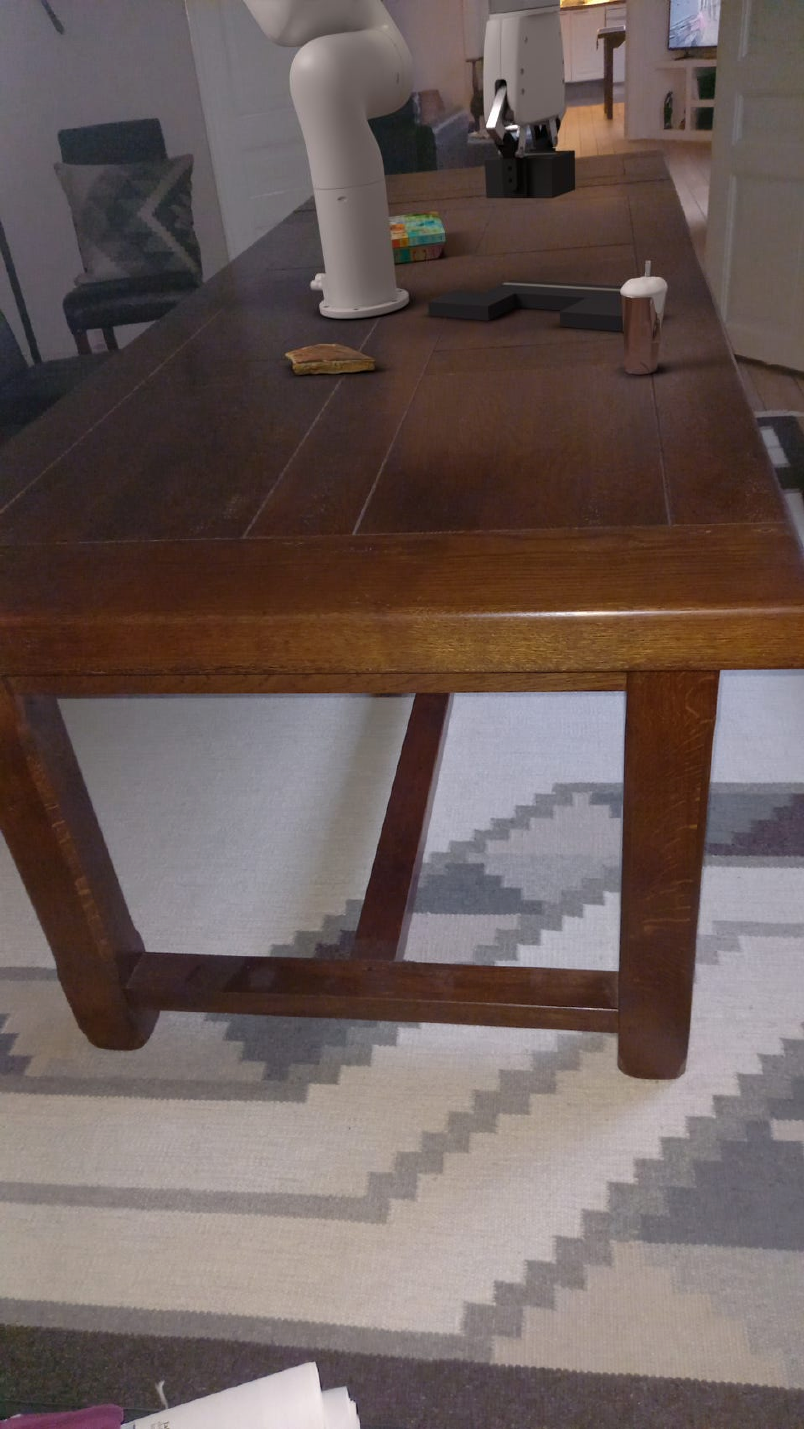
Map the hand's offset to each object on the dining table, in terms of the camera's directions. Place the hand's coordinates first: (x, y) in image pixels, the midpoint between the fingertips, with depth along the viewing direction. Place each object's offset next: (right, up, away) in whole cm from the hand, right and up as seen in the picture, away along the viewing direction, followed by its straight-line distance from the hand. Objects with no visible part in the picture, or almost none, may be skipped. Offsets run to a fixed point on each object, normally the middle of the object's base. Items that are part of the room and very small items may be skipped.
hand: (530, 190), depth 113 cm
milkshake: (+10, -25, -10) cm, 29 cm away
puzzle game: (-14, +18, +53) cm, 57 cm away
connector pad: (0, 0, 0) cm, 0 cm away
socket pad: (+4, -9, +12) cm, 16 cm away
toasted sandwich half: (-23, -19, +3) cm, 30 cm away
